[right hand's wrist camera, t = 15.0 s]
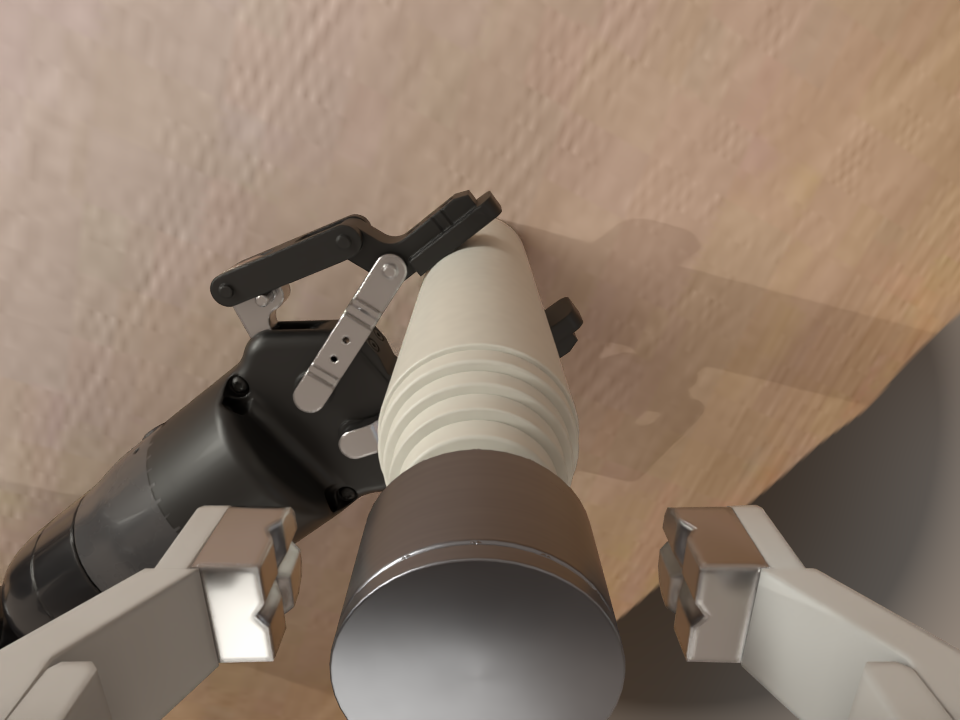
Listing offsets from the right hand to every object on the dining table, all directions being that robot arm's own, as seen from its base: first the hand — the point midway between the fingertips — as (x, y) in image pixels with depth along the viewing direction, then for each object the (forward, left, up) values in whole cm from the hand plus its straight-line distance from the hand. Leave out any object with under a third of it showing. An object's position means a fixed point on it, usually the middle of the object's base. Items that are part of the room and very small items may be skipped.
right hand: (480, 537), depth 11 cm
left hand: (-2, +2, -14) cm, 15 cm away
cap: (0, 0, 0) cm, 0 cm away
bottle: (0, 0, -20) cm, 20 cm away
